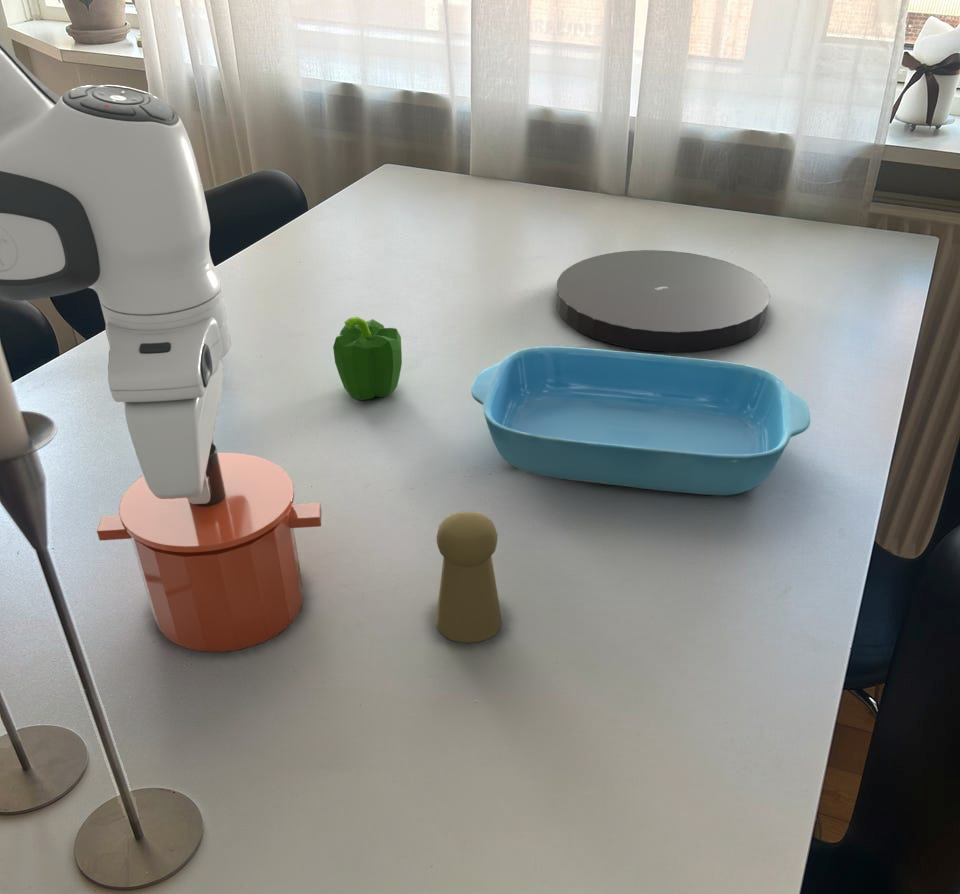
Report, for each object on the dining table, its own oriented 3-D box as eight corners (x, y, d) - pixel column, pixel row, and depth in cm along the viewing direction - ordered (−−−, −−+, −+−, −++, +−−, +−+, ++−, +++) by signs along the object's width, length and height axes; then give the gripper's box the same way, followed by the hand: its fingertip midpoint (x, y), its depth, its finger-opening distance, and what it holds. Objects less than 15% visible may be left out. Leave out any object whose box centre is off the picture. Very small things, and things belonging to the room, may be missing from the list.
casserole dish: (794, 417, 119) (806, 361, 115) (802, 521, 103) (817, 461, 98) (491, 391, 125) (491, 337, 120) (453, 486, 108) (452, 427, 104)
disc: (659, 254, 160) (661, 234, 158) (810, 314, 142) (814, 293, 140) (513, 301, 146) (513, 280, 144) (660, 374, 128) (663, 352, 126)
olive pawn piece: (514, 614, 92) (516, 515, 85) (478, 651, 88) (476, 550, 81) (460, 592, 94) (457, 493, 87) (422, 627, 91) (416, 527, 83)
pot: (331, 644, 89) (317, 548, 82) (113, 659, 88) (81, 563, 81) (332, 554, 99) (320, 462, 92) (137, 567, 98) (110, 474, 91)
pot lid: (292, 552, 81) (282, 493, 78) (108, 564, 80) (89, 505, 77) (298, 459, 92) (290, 403, 89) (136, 468, 91) (121, 412, 88)
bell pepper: (394, 372, 129) (389, 296, 122) (411, 400, 123) (407, 322, 117) (330, 382, 127) (322, 305, 121) (345, 411, 121) (337, 333, 115)
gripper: (147, 278, 83) (181, 426, 92) (102, 393, 68) (148, 557, 77) (223, 275, 84) (249, 422, 93) (196, 388, 68) (231, 551, 78)
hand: (203, 484), depth 85 cm, fingers closed on pot lid, 3 cm apart
